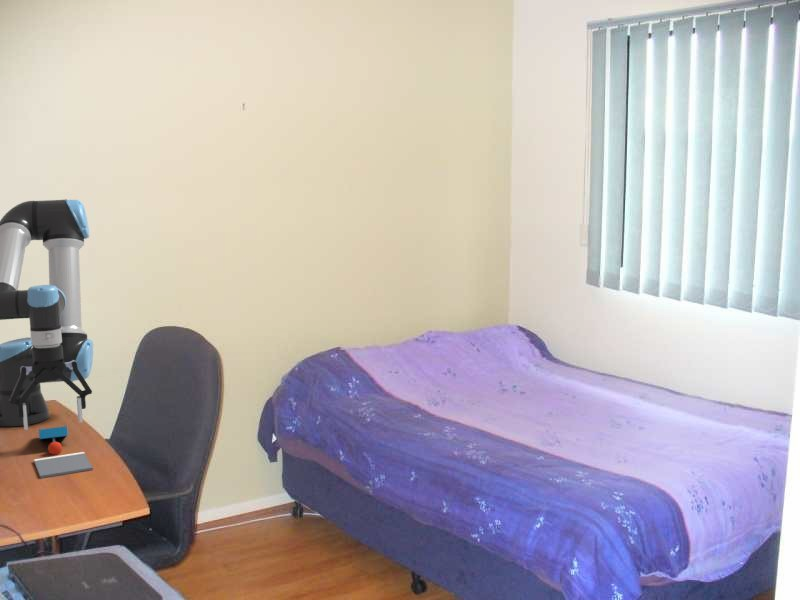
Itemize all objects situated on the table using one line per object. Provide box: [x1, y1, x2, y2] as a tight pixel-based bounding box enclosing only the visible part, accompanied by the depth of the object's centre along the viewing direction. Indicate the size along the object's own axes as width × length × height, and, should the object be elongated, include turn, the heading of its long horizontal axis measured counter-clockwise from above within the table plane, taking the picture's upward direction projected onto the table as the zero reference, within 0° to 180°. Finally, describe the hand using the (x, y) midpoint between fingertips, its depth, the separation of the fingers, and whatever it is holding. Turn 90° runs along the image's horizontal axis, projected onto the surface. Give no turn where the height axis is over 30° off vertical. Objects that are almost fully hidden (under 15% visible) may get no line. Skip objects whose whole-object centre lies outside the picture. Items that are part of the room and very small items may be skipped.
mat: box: [33, 451, 94, 479], centre depth 241 cm, size 14×12×1 cm
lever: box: [38, 425, 69, 456], centre depth 258 cm, size 7×7×18 cm
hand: (53, 425), depth 257 cm, fingers open, 13 cm apart
